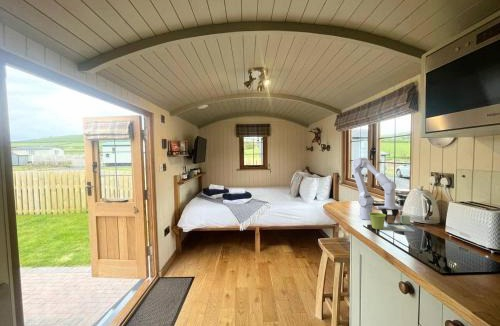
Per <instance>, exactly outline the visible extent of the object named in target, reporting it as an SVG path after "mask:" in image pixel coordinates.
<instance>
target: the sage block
mask: <svg viewBox="0 0 500 326" xmlns="http://www.w3.org/2000/svg"><path fill="white" fill-rule="evenodd" d="M399 218H400V223H401V225H411V216H409V215H407V214H400V217H399Z"/></svg>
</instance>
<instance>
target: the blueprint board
mask: <svg viewBox="0 0 500 326" xmlns="http://www.w3.org/2000/svg"><path fill="white" fill-rule="evenodd" d="M386 226H387V227H388V228H390V230H392V231H393V232H403V233H404V232H406V233H407V232H410V233H415V232H416V231H415V230H414V229H413V228H411V227H409V226H408V225H407V224H386Z"/></svg>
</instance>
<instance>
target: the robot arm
mask: <svg viewBox="0 0 500 326" xmlns="http://www.w3.org/2000/svg"><path fill="white" fill-rule="evenodd" d="M364 168H366V169H367V170H368V171H369V172H370V173H372V175H374V176H375V177H374V178H375V180H377V182H378V183H379V184H380V185H381V186H382V188H383V190H384V205H377V206H376V209H377V210H380V211H381V213H382V214H385V215H386V216H385V220H384V222H385V221H387V214H388V212H389V211H390V210H391V214H392V215H393V216H394V222H395V221H396V219H397V215H398V214H399V212H400V211H403V208H404V207H403V206H399V205H398V206H396V202H395V201H396V200H395V199H396V198H395V197H396V193H395V191H396V189H397V184H396V182H395V181H393V180H391V179H389V177H388V176H386V174H385V173H383V172H379V170H378V169H377V168H376V167H375V166H374V165H373V164H372V162H371V161H370V160H369V159H368V158H367V157H355V158H354V159H353V161H352V173H353V177H354V180H355V183H356V186H357V189H358V192H359V193H358V204H359V205H360V207H359V215H358V217H359V218H360V219H361V220H365V221H366V220H367V221H371V218H370V215H369V213H373V204H374V203H375V199H374V198H373V196H372V193H370V192H369V191H368V188H367V185H366V182H365V179H364V176H363V173H362V170H363V169H364ZM388 210H389V211H388Z"/></svg>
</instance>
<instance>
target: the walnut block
mask: <svg viewBox="0 0 500 326" xmlns="http://www.w3.org/2000/svg"><path fill="white" fill-rule="evenodd" d="M384 223H386V224H388V225H395V221H394V216H393V215H392V213H390V214H388V213H387V221H385V220H384Z"/></svg>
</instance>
